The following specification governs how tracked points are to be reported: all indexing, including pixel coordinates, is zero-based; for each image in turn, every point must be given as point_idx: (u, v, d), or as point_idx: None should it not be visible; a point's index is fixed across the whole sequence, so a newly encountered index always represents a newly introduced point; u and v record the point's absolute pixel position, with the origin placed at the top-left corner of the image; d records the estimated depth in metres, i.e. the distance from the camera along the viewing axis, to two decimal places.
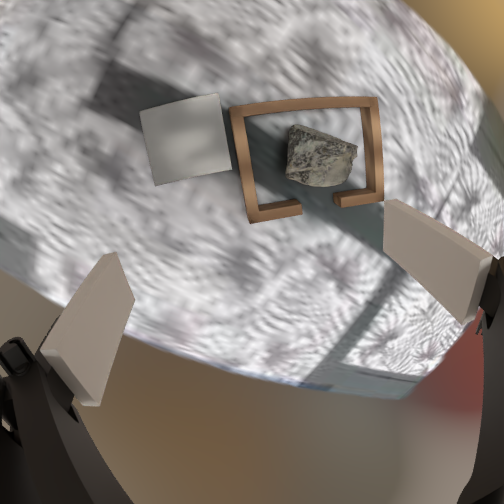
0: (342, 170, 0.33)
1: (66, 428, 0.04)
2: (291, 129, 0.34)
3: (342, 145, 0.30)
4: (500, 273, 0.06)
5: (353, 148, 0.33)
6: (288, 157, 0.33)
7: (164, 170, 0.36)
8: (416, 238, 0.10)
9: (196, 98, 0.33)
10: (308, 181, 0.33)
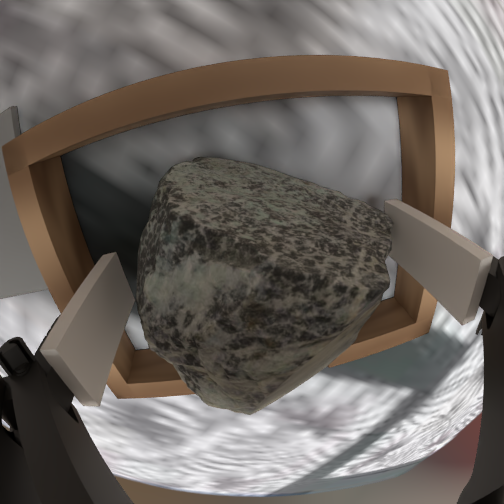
0: (336, 351, 0.09)
1: (66, 428, 0.04)
2: (159, 186, 0.10)
3: (347, 291, 0.06)
4: (500, 273, 0.06)
5: (386, 253, 0.09)
6: (138, 303, 0.09)
7: None
8: (416, 238, 0.10)
9: None
10: (203, 396, 0.09)
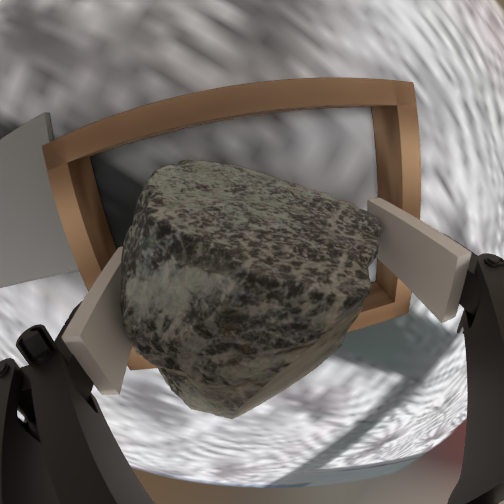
0: (319, 357, 0.09)
1: (86, 418, 0.05)
2: (143, 190, 0.10)
3: (323, 298, 0.06)
4: (480, 271, 0.06)
5: (372, 257, 0.09)
6: (122, 306, 0.09)
7: None
8: (397, 236, 0.11)
9: (14, 132, 0.12)
10: (185, 399, 0.09)
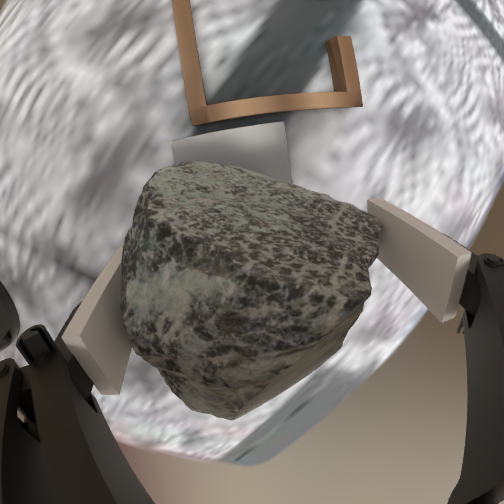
0: (319, 358, 0.09)
1: (86, 418, 0.05)
2: (143, 191, 0.10)
3: (323, 300, 0.06)
4: (480, 271, 0.06)
5: (372, 258, 0.09)
6: (122, 307, 0.09)
7: None
8: (397, 236, 0.11)
9: None
10: (186, 401, 0.09)
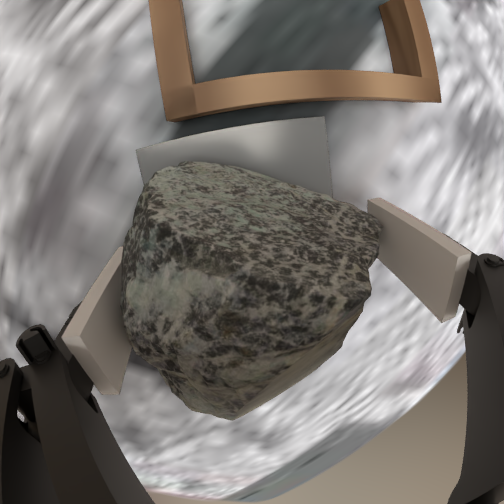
0: (319, 358, 0.09)
1: (86, 418, 0.05)
2: None
3: (323, 300, 0.06)
4: (480, 271, 0.06)
5: (372, 258, 0.09)
6: (122, 307, 0.09)
7: None
8: (397, 235, 0.11)
9: None
10: (186, 401, 0.09)
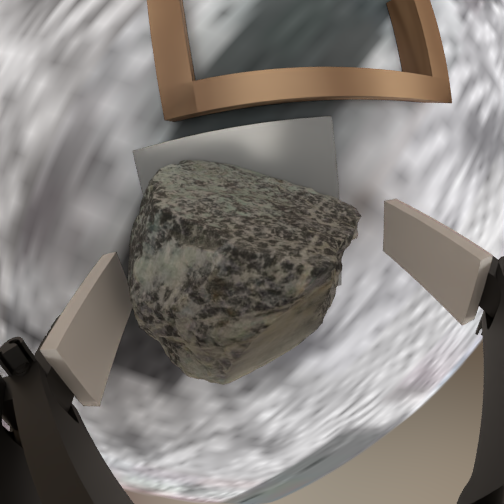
0: (299, 328, 0.10)
1: (66, 428, 0.04)
2: None
3: (293, 268, 0.08)
4: (500, 273, 0.06)
5: (346, 241, 0.10)
6: (130, 284, 0.11)
7: None
8: (416, 238, 0.10)
9: None
10: (182, 367, 0.10)
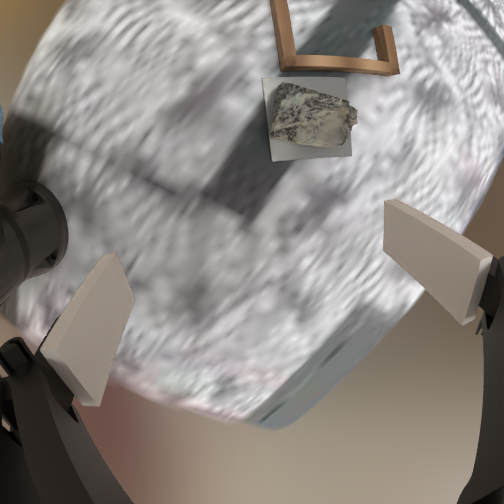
0: (338, 130, 0.26)
1: (66, 428, 0.04)
2: (279, 85, 0.27)
3: (337, 98, 0.24)
4: (500, 273, 0.06)
5: (351, 108, 0.27)
6: (274, 113, 0.27)
7: None
8: (416, 237, 0.10)
9: (266, 100, 0.31)
10: (296, 138, 0.26)
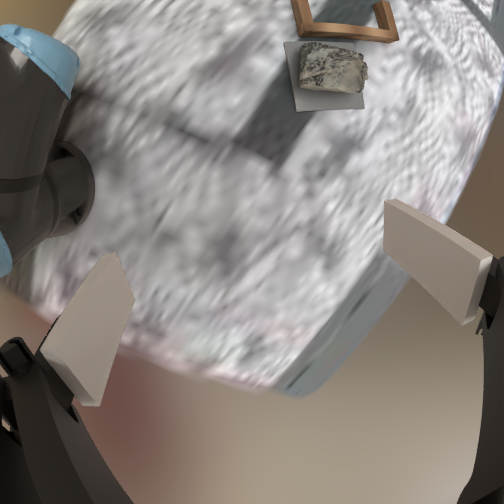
0: (356, 78, 0.28)
1: (66, 428, 0.04)
2: (302, 45, 0.29)
3: (354, 52, 0.25)
4: (500, 273, 0.06)
5: (364, 63, 0.28)
6: (301, 65, 0.28)
7: (352, 97, 0.35)
8: (416, 238, 0.10)
9: (289, 59, 0.32)
10: (323, 83, 0.28)
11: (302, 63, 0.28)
